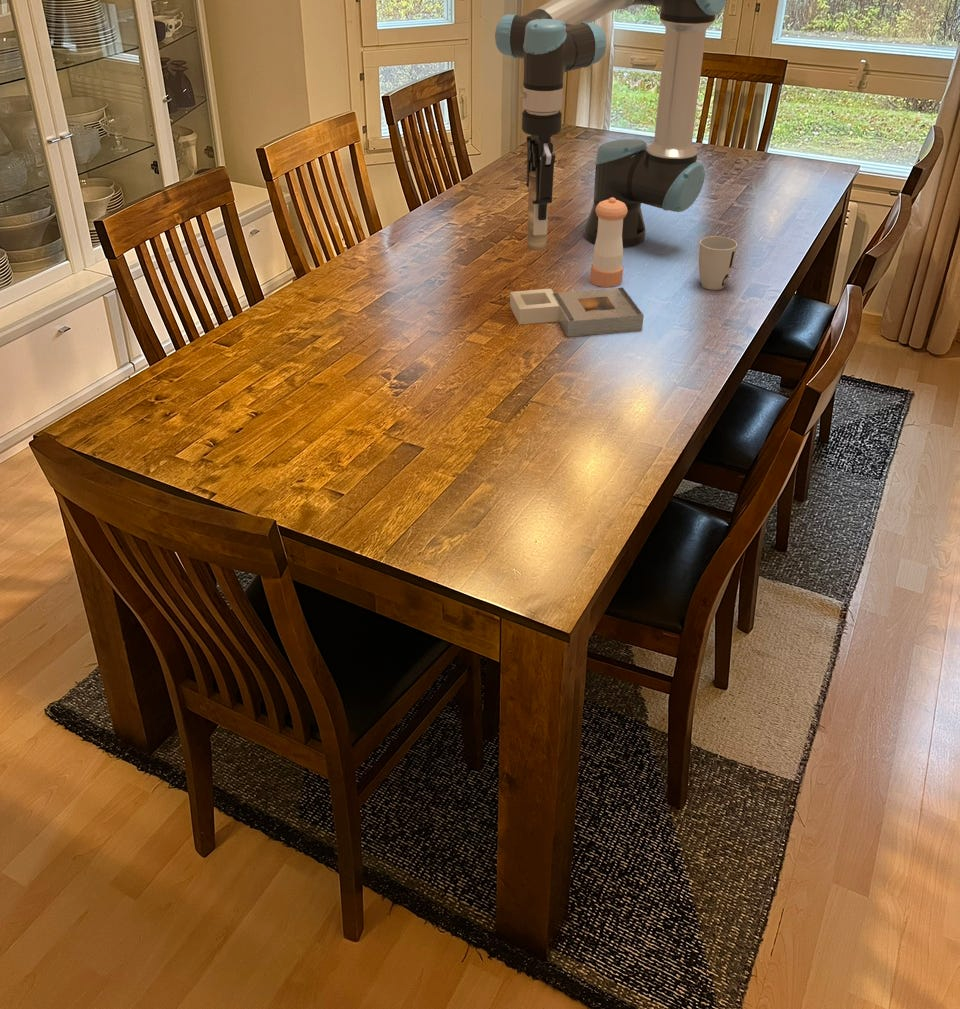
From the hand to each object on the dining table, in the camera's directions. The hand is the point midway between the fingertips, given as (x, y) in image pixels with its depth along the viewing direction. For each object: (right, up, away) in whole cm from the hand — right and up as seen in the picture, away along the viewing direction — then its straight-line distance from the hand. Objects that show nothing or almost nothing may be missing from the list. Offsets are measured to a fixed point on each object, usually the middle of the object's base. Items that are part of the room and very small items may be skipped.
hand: (537, 229), depth 203 cm
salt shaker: (+17, -5, +25) cm, 31 cm away
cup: (+41, -6, +23) cm, 48 cm away
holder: (0, -15, +11) cm, 19 cm away
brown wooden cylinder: (0, -3, +2) cm, 4 cm away
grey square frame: (+13, -17, +9) cm, 23 cm away
